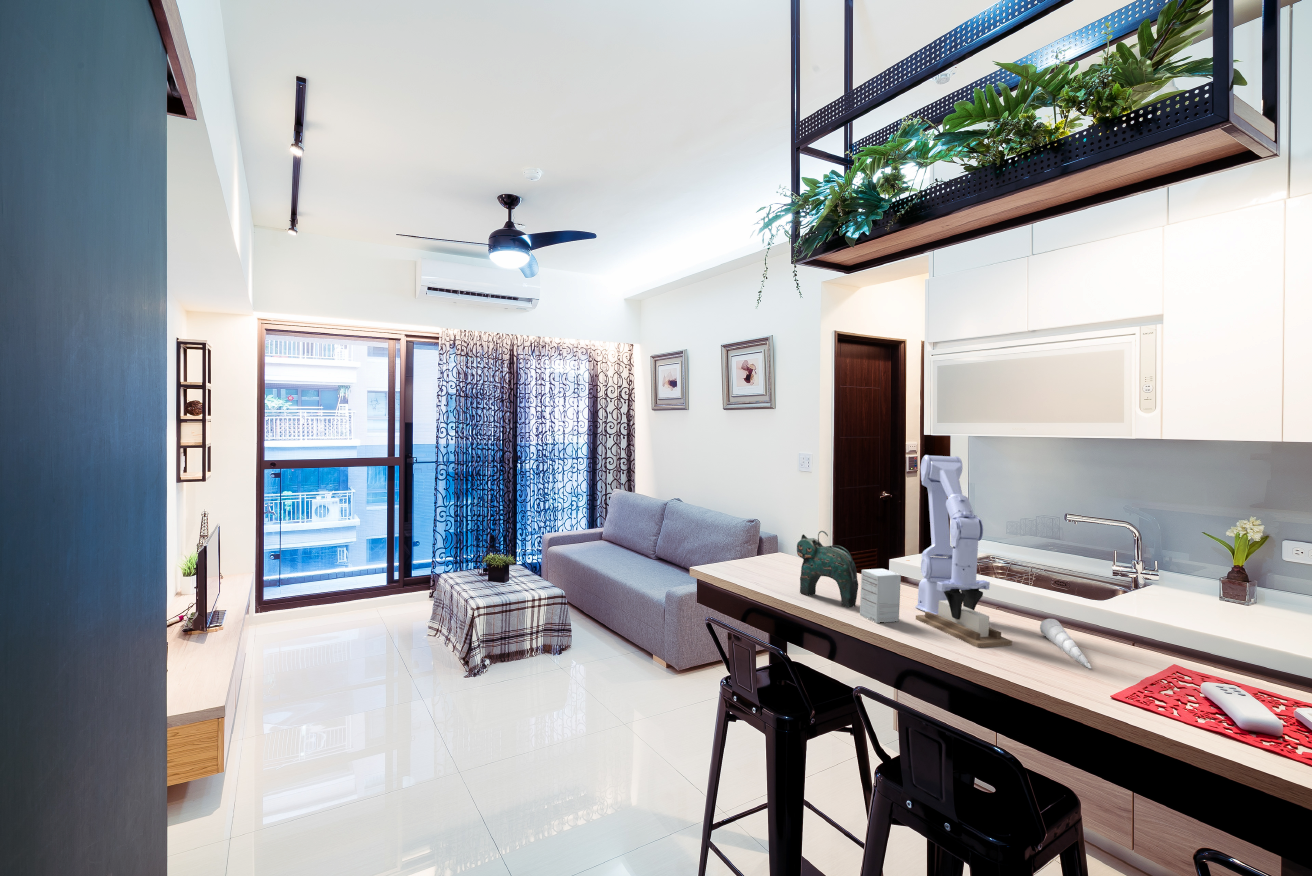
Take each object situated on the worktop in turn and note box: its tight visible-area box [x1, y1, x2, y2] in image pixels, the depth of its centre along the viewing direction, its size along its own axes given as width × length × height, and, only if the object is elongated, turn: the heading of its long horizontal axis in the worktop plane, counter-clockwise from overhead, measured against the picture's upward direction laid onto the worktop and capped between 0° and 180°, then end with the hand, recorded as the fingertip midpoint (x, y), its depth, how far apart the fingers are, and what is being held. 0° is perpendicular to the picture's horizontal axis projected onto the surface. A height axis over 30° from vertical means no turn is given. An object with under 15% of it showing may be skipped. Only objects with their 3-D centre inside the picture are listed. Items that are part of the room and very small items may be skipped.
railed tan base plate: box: [915, 611, 1013, 648], centre depth 163 cm, size 22×10×2 cm, turn 16°
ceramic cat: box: [796, 530, 859, 608], centre depth 188 cm, size 20×6×20 cm, turn 37°
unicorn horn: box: [1039, 618, 1092, 669], centre depth 150 cm, size 5×24×5 cm, turn 164°
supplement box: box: [859, 568, 902, 624], centre depth 171 cm, size 7×7×13 cm
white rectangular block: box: [938, 600, 990, 637], centre depth 162 cm, size 14×3×5 cm, turn 16°
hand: (961, 617), depth 163 cm, fingers closed on white rectangular block, 3 cm apart
